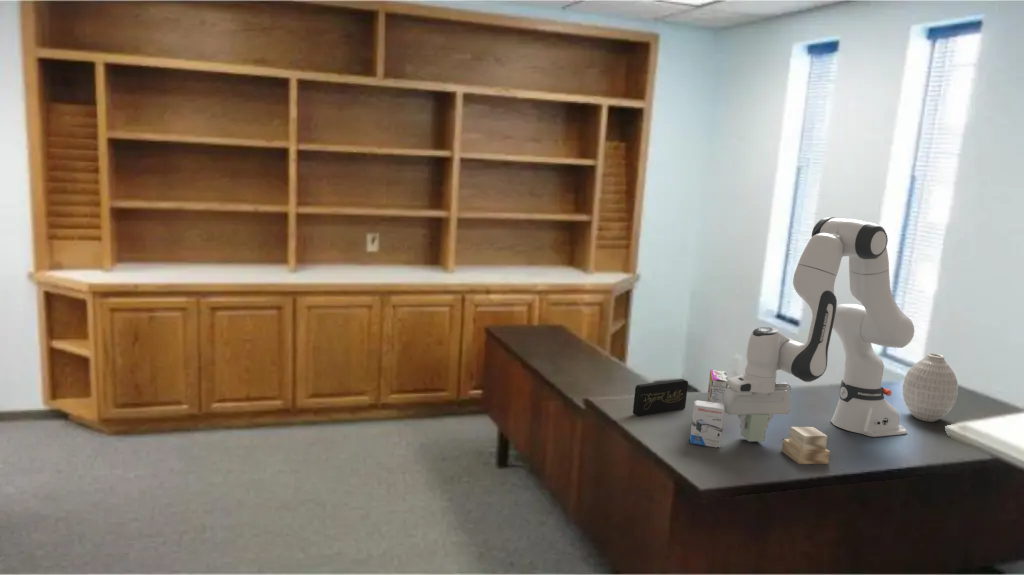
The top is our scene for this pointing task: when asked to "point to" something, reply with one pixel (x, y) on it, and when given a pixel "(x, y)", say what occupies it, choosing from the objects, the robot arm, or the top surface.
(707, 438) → the ink box
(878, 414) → the robot arm
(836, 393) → the top surface
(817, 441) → the maple block
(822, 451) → the oak block
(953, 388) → the vase
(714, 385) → the candy bar box
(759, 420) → the sage block
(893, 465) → the top surface
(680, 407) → the nameplate
